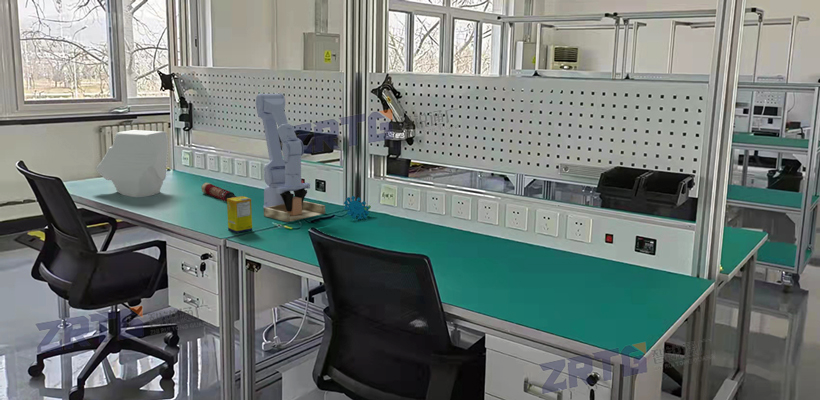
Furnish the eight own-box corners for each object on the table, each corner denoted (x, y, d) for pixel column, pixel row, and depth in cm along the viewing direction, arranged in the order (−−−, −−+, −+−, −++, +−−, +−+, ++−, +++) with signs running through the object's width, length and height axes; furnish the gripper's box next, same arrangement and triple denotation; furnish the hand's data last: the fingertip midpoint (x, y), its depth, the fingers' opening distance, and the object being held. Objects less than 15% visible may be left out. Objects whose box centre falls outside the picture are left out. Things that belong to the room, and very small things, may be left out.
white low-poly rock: (144, 199, 257) (140, 135, 252) (95, 193, 268) (90, 131, 262) (182, 190, 276) (179, 131, 271) (135, 184, 287) (131, 127, 281)
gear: (349, 217, 227) (342, 194, 232) (342, 226, 231) (335, 203, 236) (375, 218, 234) (368, 195, 238) (368, 226, 238) (361, 204, 242)
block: (286, 213, 235) (285, 197, 233) (294, 212, 238) (294, 196, 237) (293, 215, 232) (293, 199, 231) (301, 213, 235) (301, 197, 234)
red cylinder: (242, 195, 254) (210, 183, 276) (232, 192, 250) (200, 180, 272) (238, 206, 253) (206, 193, 275) (228, 203, 250) (196, 190, 272)
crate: (263, 217, 232) (263, 207, 231) (301, 209, 246) (301, 200, 245) (287, 223, 224) (287, 213, 223) (325, 214, 238) (325, 205, 237)
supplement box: (243, 227, 218) (242, 195, 215) (252, 230, 213) (251, 198, 211) (227, 230, 213) (226, 198, 211) (236, 233, 209) (235, 200, 207)
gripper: (284, 177, 224) (285, 215, 227) (315, 172, 235) (316, 208, 238) (271, 174, 228) (272, 212, 231) (302, 170, 239) (303, 205, 242)
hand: (293, 210), depth 235 cm, fingers closed on block, 4 cm apart
